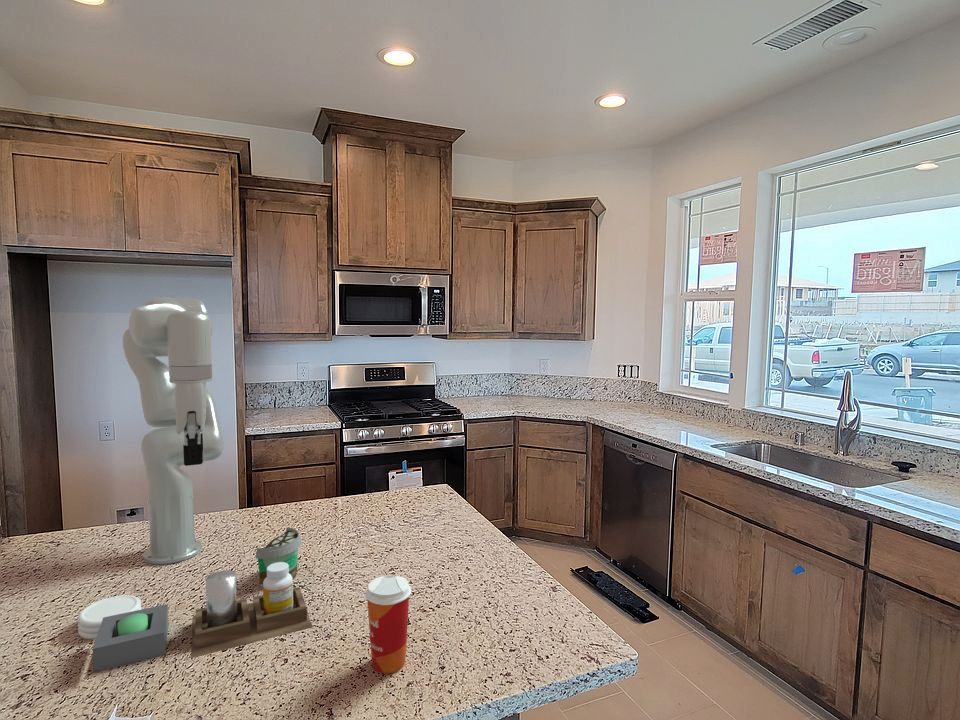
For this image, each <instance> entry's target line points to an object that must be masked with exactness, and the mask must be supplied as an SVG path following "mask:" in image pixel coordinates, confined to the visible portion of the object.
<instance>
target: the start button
mask: <svg viewBox="0 0 960 720" xmlns="http://www.w3.org/2000/svg"><path fill="white" fill-rule="evenodd" d="M117 625H118V636H122V635H126V634H131V633H135V632H140V631H144V630H148V616H147V615H146V614H143V613H138V614H133V615H129V616H127V617H125V618H123V619H121V620H120V621H119V622H118V624H117Z"/></svg>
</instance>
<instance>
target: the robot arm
mask: <svg viewBox="0 0 960 720" xmlns="http://www.w3.org/2000/svg"><path fill="white" fill-rule="evenodd" d="M208 313H209V312H208V309H207V307H206V305H205V304H204V302H203V301H201V300H200V299H198V298H192V297H168V296H167V297H165V296H164V297H163V296H160V297H154V298H153V297H152V298H150V299H148V300H146V301H144V303H143V304H142V305H140V306H136V307H135V308H133V309H132V310H131V312H130V315H129V320H128V328H127V329H125V331H124V332H123V336H122V348H123V353H124V356H125V359H126V362H127V363H128V366H129V368H130V369H131V371H132V373H133V374H134V376H135V378H136V379H137V380H136V381H138V384H139V392H140V400H141V407H142V412H143V416H144V417H143V418H144V420H145V421H146V424H147V425H148V426H150V427H152V428H155V429H153V430H151V431H149V432H147V433H145V435H144V436H143V438H142V440H141V448H140V449H141V454H142V458H143V459H142V460H143V463H144V467H145V472H146V481H147V500H148V521H149V544H150V547H148V548H147V549H145V551H144V552H143V554H142V555H143V557H142V559H143V561H144V562H145V563H148V564H151V565H167V564H175V563H179V562H182V561H185V560H188V559H190V558H193V557H195V556H196V555H197V554H199V553H200V552H201V550H202V549H203V543H202V541H200V540H199V539H196V535H195V514H194V513H195V511H194V509H195V508H194V486H193V485H194V484H193V480H192V478H191V476H190V475H189V474H188V473H187V472H186V471H184V470H183V469H182V468H181V466H185V467H188V466H189V467H190V466H196V465H197V466H198V465H202V464H203V463H204V462H207V461H213V460H216V459H218V458H219V457H221V455H222V453H223V451H224V440H223V433H222V430H221V426H220V420H219V415H218V411H217V407H216V402H215V399H214V396H213V394H212V393H211V391H209V390H208V389H207V387H206V386H207V383H208V382H209V383H210V382H212V381H213V366H212V365H213V357H212V335H213V327H212V326H213V325H212V321H211V319H210V316H209V315H208ZM158 357H159V358H160V357H161V358H162V357H168V358H167V359H168V365H167V364H165V363H164V362H162V361H161V360H159V359H158Z"/></svg>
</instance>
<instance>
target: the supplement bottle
mask: <svg viewBox="0 0 960 720" xmlns="http://www.w3.org/2000/svg"><path fill="white" fill-rule="evenodd" d="M288 572H289V565H288V564H287V563H285V562H277V563H273V564H271V565H269V566H268V567H267V577H266V578H265V580H264V582H263V587H262V592H263V593H262V595H263V602H264V615H268V614H273V613H277V612H281V611H285V610H290V609H293V587H294V586H293V584H294V582H293V579H292V576H291V575H290V574H289V573H288Z"/></svg>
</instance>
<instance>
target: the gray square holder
mask: <svg viewBox="0 0 960 720" xmlns="http://www.w3.org/2000/svg"><path fill="white" fill-rule="evenodd" d="M138 613H143V614H146V615H147V616H148V630H144V631H140V632H135V633H131V634H126V635H122V636H118V625H117V624H118V622H119V621H120V620H121V619H123V618H125V617H127V616H129V615H133V614H138ZM169 621H170V620H169V604H168V603H165V604H162V605H161V604H160V605H156V606H151V607H148V608H141V610H137V611H132V612H127V613H122V614H118V615H113V616H108V617H103V620H102V622H101V625H100V628H99V631H98V634H97V637H96V639H94V644H93V646H92V664H93V673H98V672H102V671H103V672H104V671H106V670H107V671H108V670H111V669H114V668H118V667H122V666H127V665H131V664H134V663H137V662H143V661H146V660H151V659H153V658H158V657H164V656H165V655H166V650H167V644H168V643H167V642H168V633H169V625H170V622H169Z"/></svg>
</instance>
